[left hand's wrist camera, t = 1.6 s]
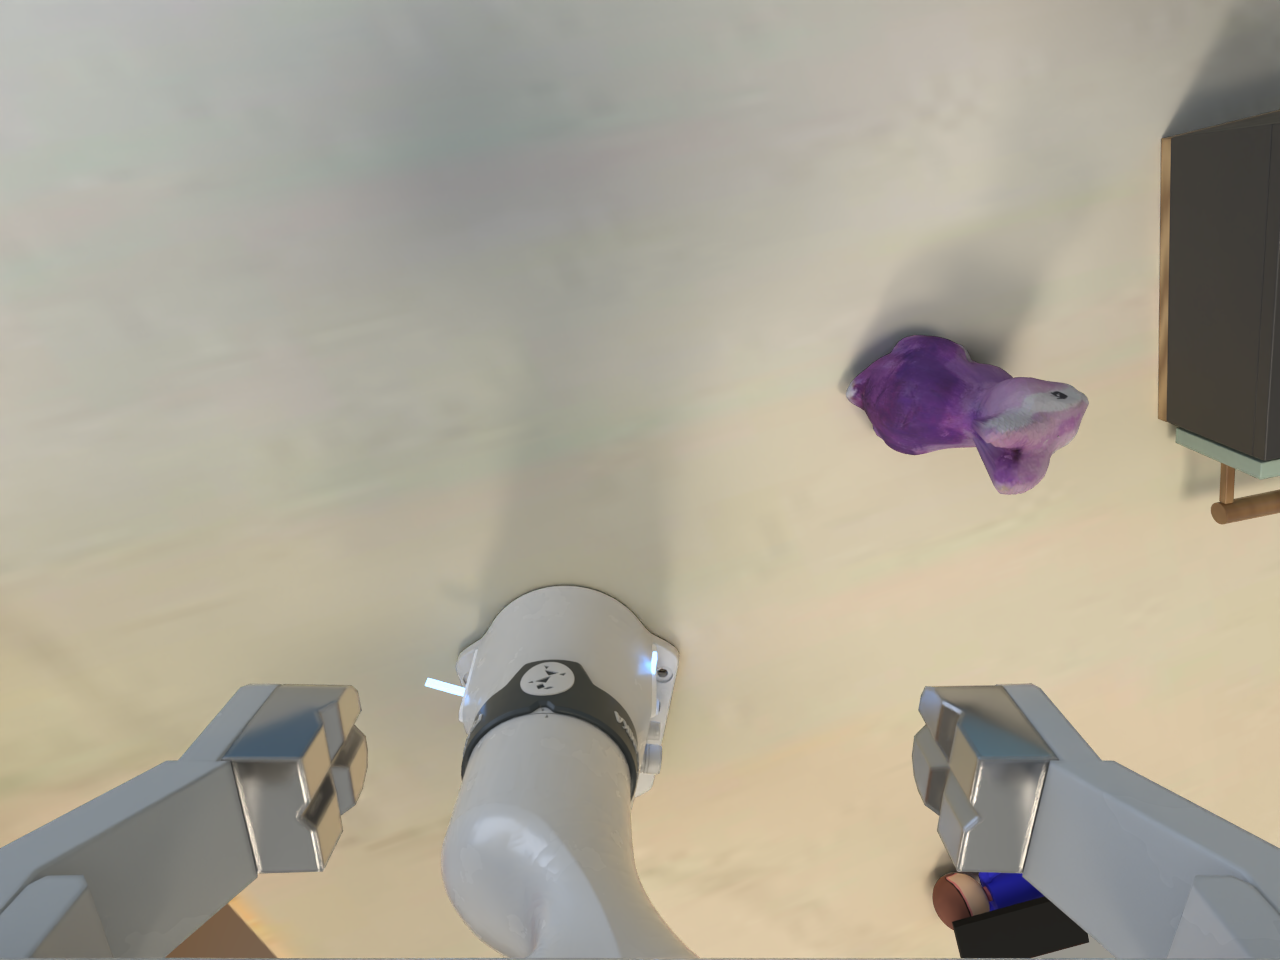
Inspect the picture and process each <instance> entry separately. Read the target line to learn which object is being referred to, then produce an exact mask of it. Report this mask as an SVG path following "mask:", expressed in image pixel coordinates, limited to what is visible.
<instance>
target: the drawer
mask: <svg viewBox="0 0 1280 960" xmlns="http://www.w3.org/2000/svg"><path fill="white" fill-rule="evenodd" d="M1176 443H1178V444H1180V445H1182V446H1185V447H1187V448H1189V449H1191V450H1194V451H1196V452H1198V453H1201V454H1203V455H1205V456H1207V457H1210V458H1212V459H1214V460H1217V461H1219V462H1221V477H1220V500H1219V501H1220V502H1217V503H1214V504H1213V505H1212V506H1211V514H1212V516H1213V518H1214V520H1215V521H1216V522H1217V523H1219V524H1227V523H1232V522H1237V521H1242V520H1247V519H1252V518H1257V517H1262V516H1266V515H1271V514H1276V513H1280V490H1275V491H1270V492H1265V493H1261V494H1256V495H1251V496H1246V497H1241V498H1236V499H1234V479H1235V469H1237V470H1239V471H1242V472H1244V473H1246V474H1249V475H1251V476H1253V477H1255V478H1258V479H1266V478H1271V477H1276V476H1280V458H1276V459H1271V460H1267V461H1264V460H1261V459H1259V458H1256V457H1254V456H1251V455H1248V454H1246V453H1243V452H1241V451H1238V450H1236V449H1233V448H1231V447H1228V446H1226V445H1223V444H1221V443H1219V442H1216V441H1214V440H1211V439H1209V438H1206V437H1204V436H1201V435H1199V434H1196V433H1194V432H1191V431H1189V430H1186V429H1184V428H1181V427H1179V428H1176Z"/></svg>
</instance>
